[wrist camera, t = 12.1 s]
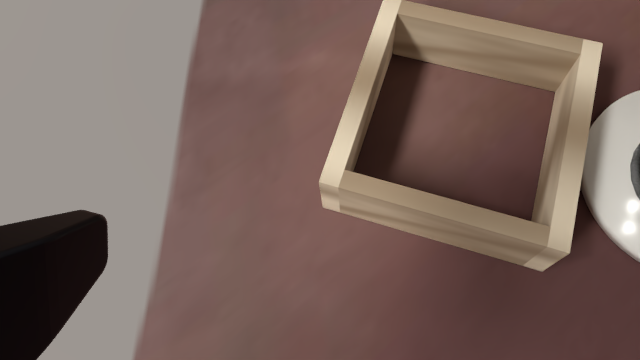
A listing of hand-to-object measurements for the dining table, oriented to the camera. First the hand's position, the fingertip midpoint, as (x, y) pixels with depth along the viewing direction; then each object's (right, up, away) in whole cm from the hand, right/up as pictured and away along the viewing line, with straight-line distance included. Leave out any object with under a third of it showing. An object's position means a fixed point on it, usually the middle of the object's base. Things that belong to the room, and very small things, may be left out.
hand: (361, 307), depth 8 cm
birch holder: (+6, +4, +16) cm, 17 cm away
